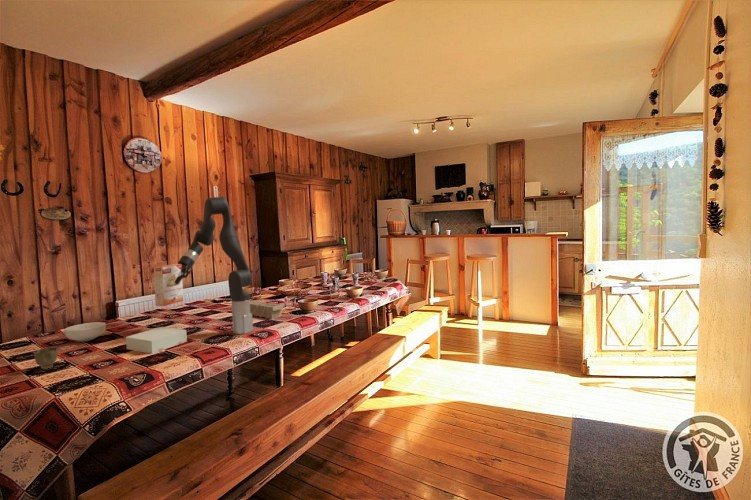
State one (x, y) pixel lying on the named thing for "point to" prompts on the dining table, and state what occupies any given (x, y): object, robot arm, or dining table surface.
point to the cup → (46, 357)
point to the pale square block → (156, 339)
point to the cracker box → (167, 285)
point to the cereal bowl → (85, 331)
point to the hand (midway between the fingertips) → (171, 282)
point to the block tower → (265, 309)
